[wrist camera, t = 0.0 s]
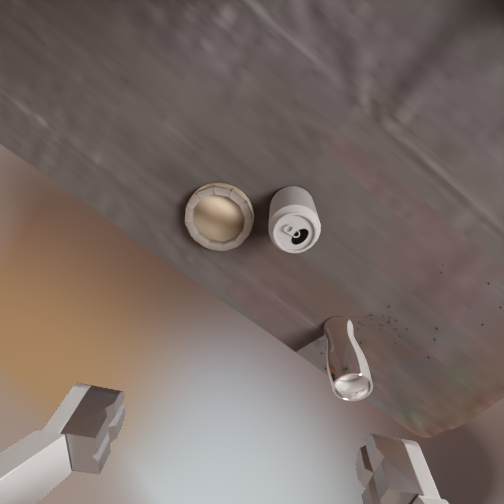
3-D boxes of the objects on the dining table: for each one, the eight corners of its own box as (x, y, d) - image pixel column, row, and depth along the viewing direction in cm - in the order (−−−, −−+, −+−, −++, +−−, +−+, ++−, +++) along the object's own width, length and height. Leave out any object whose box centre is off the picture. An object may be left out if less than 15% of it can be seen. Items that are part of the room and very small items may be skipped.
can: (292, 234, 57) (295, 267, 46) (261, 208, 55) (257, 236, 45) (322, 204, 54) (333, 232, 43) (290, 175, 52) (293, 197, 42)
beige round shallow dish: (189, 176, 54) (185, 180, 51) (259, 188, 54) (258, 193, 51) (185, 239, 59) (181, 245, 57) (248, 250, 59) (247, 257, 57)
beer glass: (315, 320, 65) (325, 379, 52) (348, 309, 64) (367, 368, 50) (327, 344, 68) (339, 405, 55) (359, 334, 66) (379, 396, 53)
